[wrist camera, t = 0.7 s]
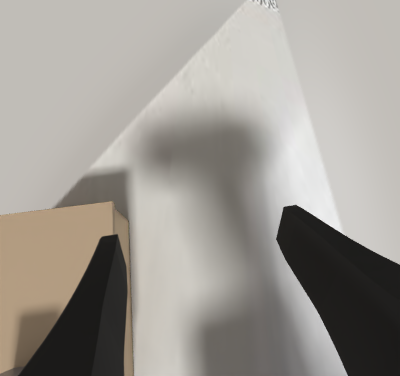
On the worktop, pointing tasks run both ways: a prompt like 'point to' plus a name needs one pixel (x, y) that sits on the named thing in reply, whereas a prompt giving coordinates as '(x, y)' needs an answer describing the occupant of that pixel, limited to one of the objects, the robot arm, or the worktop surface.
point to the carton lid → (43, 272)
